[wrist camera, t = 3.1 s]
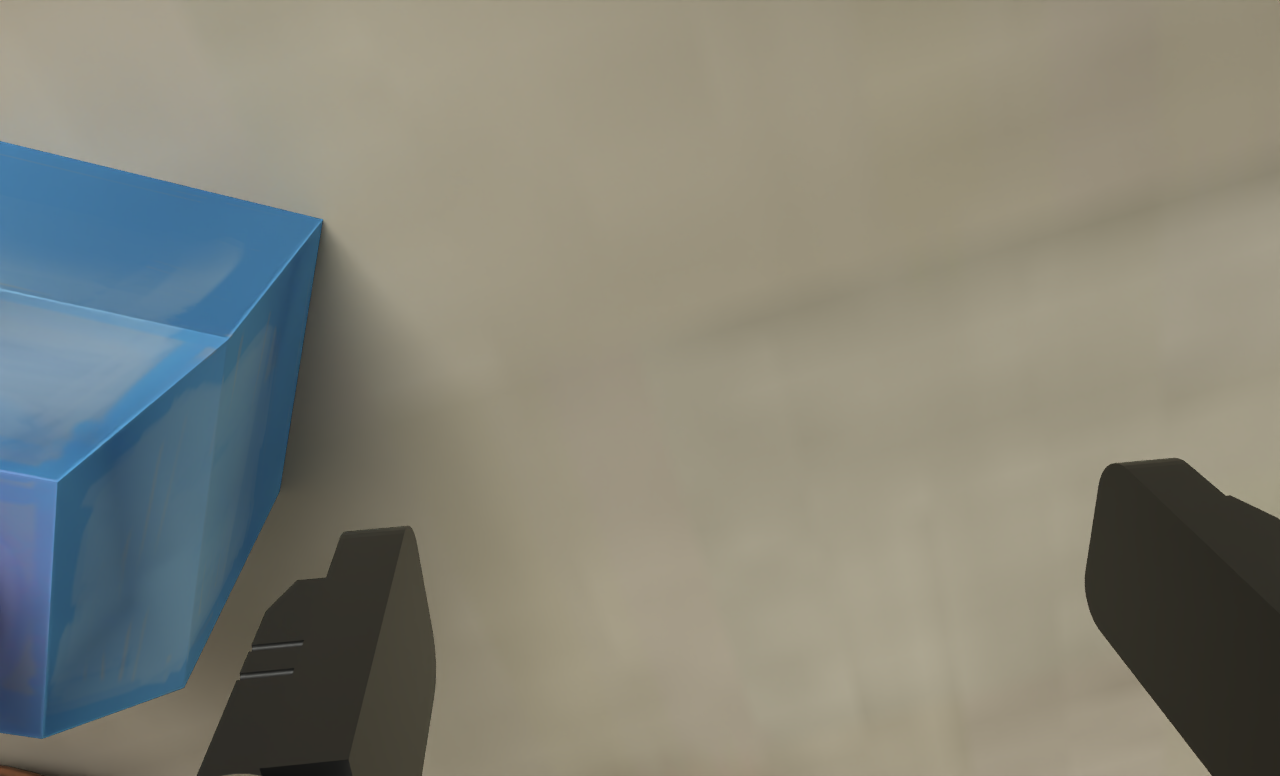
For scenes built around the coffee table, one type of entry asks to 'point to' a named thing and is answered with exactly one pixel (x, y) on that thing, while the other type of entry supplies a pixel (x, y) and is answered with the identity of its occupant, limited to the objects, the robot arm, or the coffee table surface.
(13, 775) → the cup and saucer
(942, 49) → the coffee table surface
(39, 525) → the perfume bottle
